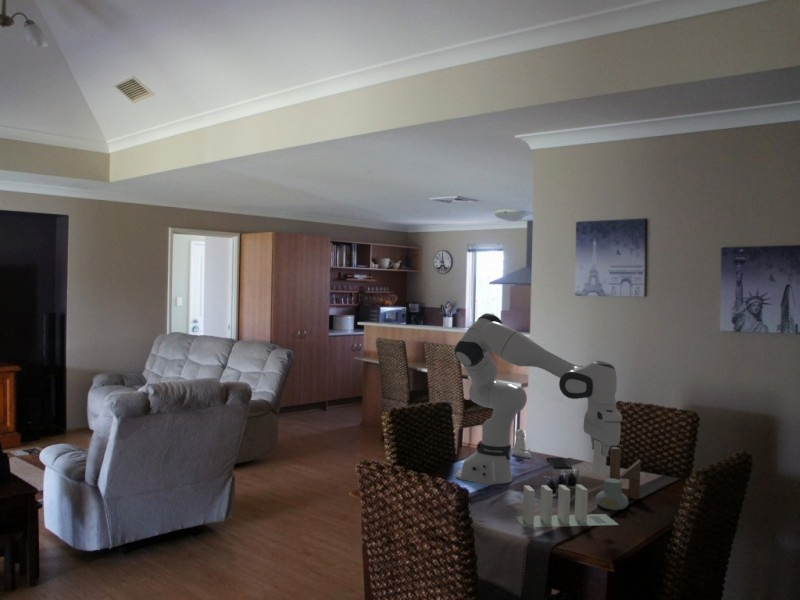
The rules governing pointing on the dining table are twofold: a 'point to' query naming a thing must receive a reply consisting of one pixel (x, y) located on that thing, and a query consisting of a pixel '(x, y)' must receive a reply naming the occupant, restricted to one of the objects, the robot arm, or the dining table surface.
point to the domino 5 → (599, 459)
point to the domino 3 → (563, 504)
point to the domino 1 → (528, 504)
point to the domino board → (570, 521)
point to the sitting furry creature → (520, 445)
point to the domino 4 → (581, 503)
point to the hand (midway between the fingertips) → (599, 452)
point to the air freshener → (612, 495)
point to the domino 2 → (546, 504)
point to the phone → (559, 463)
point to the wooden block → (625, 474)
